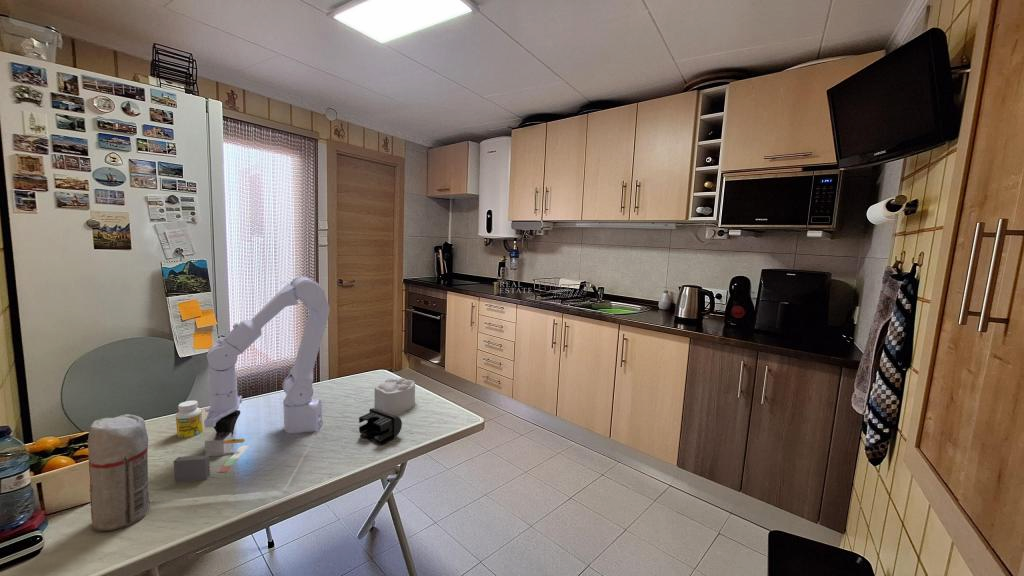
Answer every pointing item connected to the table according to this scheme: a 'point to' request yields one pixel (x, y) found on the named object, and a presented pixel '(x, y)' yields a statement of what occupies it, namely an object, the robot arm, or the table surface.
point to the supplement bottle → (189, 419)
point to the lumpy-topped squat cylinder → (395, 395)
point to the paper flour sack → (118, 471)
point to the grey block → (220, 443)
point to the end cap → (379, 427)
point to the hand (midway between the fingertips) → (226, 440)
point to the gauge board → (200, 466)
